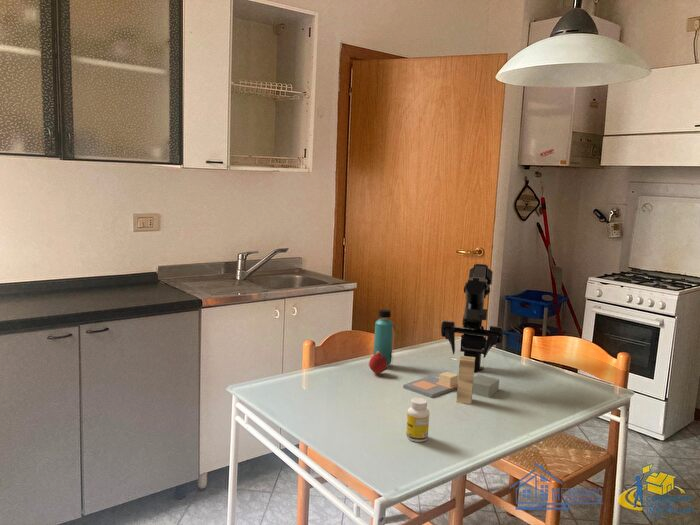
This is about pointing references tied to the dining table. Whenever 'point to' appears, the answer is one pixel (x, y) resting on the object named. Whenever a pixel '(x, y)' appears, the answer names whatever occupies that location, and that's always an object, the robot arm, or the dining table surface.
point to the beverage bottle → (384, 336)
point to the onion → (377, 363)
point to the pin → (465, 379)
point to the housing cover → (485, 385)
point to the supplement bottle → (418, 420)
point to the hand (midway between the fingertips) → (468, 355)
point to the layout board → (434, 384)
